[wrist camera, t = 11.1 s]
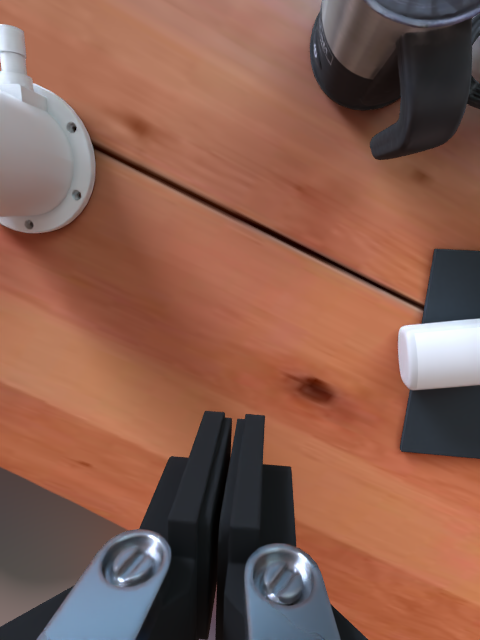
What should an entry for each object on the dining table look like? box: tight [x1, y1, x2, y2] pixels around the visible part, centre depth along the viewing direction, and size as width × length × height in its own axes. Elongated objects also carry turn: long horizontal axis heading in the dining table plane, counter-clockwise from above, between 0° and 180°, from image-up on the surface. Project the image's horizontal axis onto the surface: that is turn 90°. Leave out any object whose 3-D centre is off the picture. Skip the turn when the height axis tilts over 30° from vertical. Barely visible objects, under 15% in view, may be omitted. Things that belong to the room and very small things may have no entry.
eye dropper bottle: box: [398, 319, 480, 390], centre depth 34 cm, size 4×6×12 cm
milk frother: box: [310, 0, 480, 160], centre depth 23 cm, size 14×16×15 cm
